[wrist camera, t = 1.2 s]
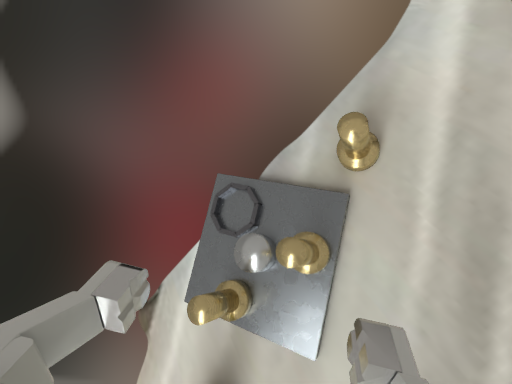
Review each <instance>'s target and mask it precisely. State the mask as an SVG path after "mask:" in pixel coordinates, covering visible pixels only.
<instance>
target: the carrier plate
mask: <svg viewBox="0 0 512 384" xmlns="http://www.w3.org/2000/svg"><path fill="white" fill-rule="evenodd" d="M349 197H350V196H349V194H346V193H339V192H333V191H327V190H320V189H314V188H308V187H301V186H295V185H288V184H282V183H276V182H269V181H263V180H257V179H250V178H244V177H237V176H231V175H224V174H217V179H216V182H215V186H214V190H213V193H212V197H211V201H210V205H209V208H208V212H207V216H206V220H205V224H204V228H203V231H202V235H201V239H200V243H199V247H198V251H197V254H196V258H195V262H194V266H193V270H192V274H191V277H190V281H189V285H188V289H187V293H186V297H185V302H187V303H188V307H187V313H188V317H189V319H190V321H191V322H192V323H193V324H195V325H203V324H205V323H207V322H210V321H212V320H215V319H217V318H222V319H224V320H226V321H228V322H230V323H233V324H235V325H237V326H239V327H241V328H244V329H246V330H248V331H250V332H252V333H254V334H257V335H259V336H261V337H263V338H265V339H268V340H270V341H272V342H274V343H276V344H278V345H281V346H283V347H285V348H287V349H289V350H292V351H294V352H296V353H298V354H300V355H303V356H305V357H307V358H309V359H311V360H313V361H316V359H317V357H318V352H319V347H320V342H321V337H322V332H323V327H324V322H325V317H326V312H327V307H328V302H329V297H330V292H331V287H332V282H333V277H334V272H335V267H336V262H337V257H338V252H339V247H340V242H341V237H342V232H343V227H344V222H345V217H346V212H347V207H348V202H349Z"/></svg>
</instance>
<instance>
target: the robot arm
mask: <svg viewBox="0 0 512 384" xmlns="http://www.w3.org/2000/svg"><path fill="white" fill-rule="evenodd" d="M147 277H148V271H147V270H146V269H142V268H139V267H135V266H131V265H127V264H124V263H120V262H115V261H111V260H110V261H108V262H106V263H105V264H104V265H103V266H102V267H101V268H100V269H99V270H98V271H97V272H96V273H95V274H94V275H93V276H92V277H91V278H90V280H89V281H88V282H87V283H86V284H85V285H84V286H83V287H82V288H81V289H80V290H79V291H78V292H75V291H73V292H71V293H68V294H66V295H64V296H62V297H60V298H57V299H55V300H53V301H51V302H49V303H47V304H44V305H42V306H40V307H38V308H35V309H33V310H31V311H29V312H26V313H24V314H22V315H20V316H18V317H15V318H13V319H11V320H9V321H7V322H4V323H2V324H0V384H54V379H53V377H52V375H51V373H50V371H49V369H48V368H49V367H51V366H52V365H54V364H55V363H56V362H58V361H59V360H61V359H63V358H64V357H65V356H67V355H68V354H70V353H71V352H73V351H74V350H76V349H77V348H78V347H80V346H81V345H83V344H84V343H86V342H87V341H88V340H90V339H92V338H93V337H94V336H96V335H97V334H99V333H100V332H102V331H103V330H104V329H108V330H112V331H116V332H120V333H126V331H127V329H128V328H129V326H130V325H131V324H132V322H133V321H134V319H135V318H136V317H135V312H136V311H137V310H139V309H141V308H142V307H143V306H144V304H145V303H146V301H147V298H148V296H149V292H150V284H149V283H148V282H147V280H146V278H147ZM354 327H355V330H353V331H351V332H350V334H349V337H348V342H347V356H348V360H349V361H350V363H351V364H352V368H351V370H350V372H349V374H350V382H351V384H429V383H428V381H427V380H426V379H424V378H421V377H420V374H419V371H418V368H417V365H416V362H415V359H414V356H413V353H412V350H411V347H410V344H409V341H408V338H407V336H406V333H405V330H404V329H403V328H401V327H397V326H392V325H388V324H385V323H380V322H376V321H371V320H366V319H362V318H357V319H356V321H355V323H354Z"/></svg>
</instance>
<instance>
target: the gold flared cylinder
mask: <svg viewBox="0 0 512 384" xmlns="http://www.w3.org/2000/svg"><path fill="white" fill-rule="evenodd" d="M337 130H338V133H339V136H340V141H339V143H338V145H337V155H338V158H339V160H340V162H341V164H342V165H343V166H344V167H345V168H347V169H349V170H352V171H363V170H366V169H368V168H370V167H371V166H373V165H374V164H375V162H376V161H377V159H378V157H379V142H378V139H377V138H376V136H375V135H374V134H372V133H371V132H369V127H368V120H367V118H366V117H365V116H364V115H363V114H361V113H359V112H351V113H348V114H346V115H344V116H343V117H342V118H341V119H340V120H339V122H338V125H337Z"/></svg>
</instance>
